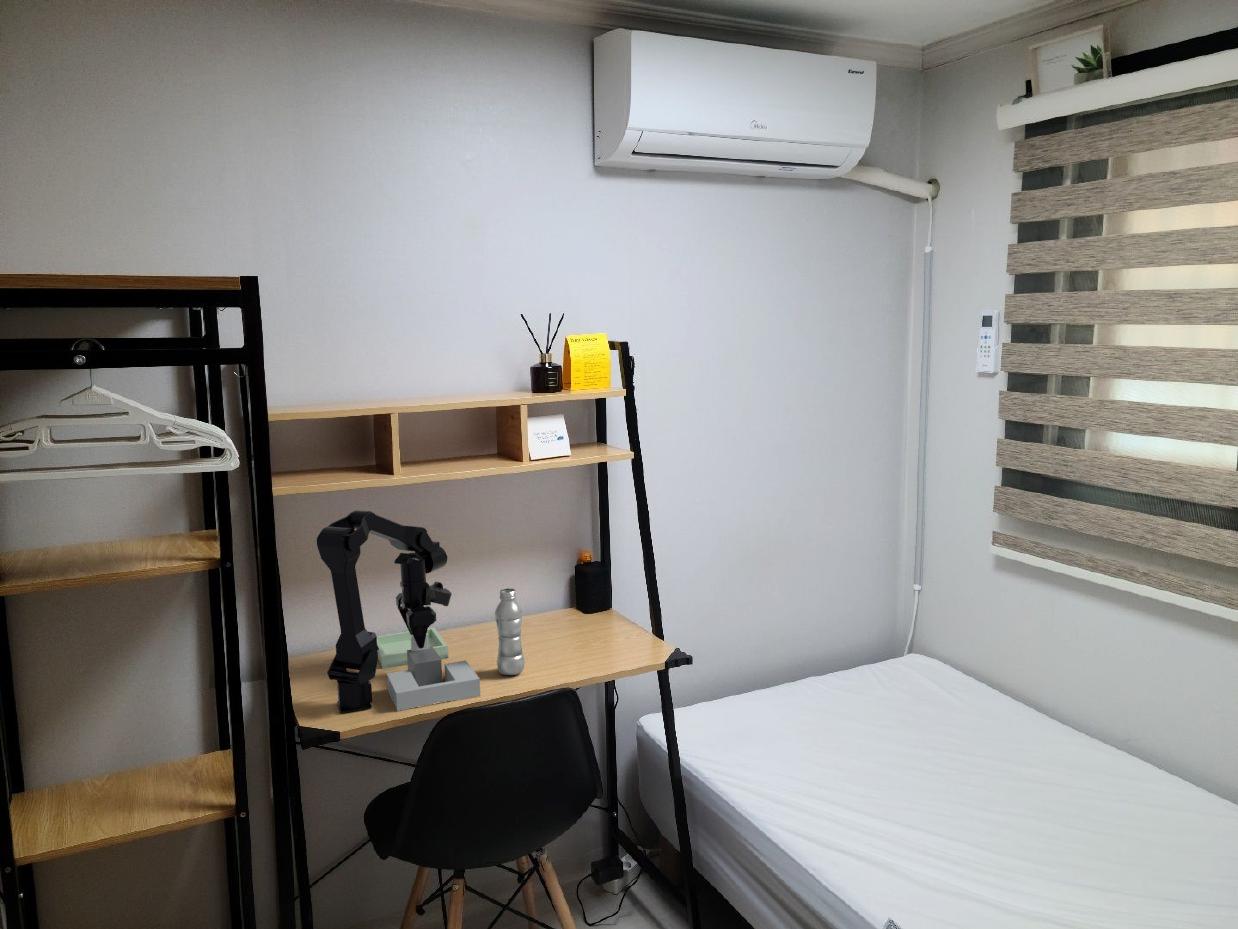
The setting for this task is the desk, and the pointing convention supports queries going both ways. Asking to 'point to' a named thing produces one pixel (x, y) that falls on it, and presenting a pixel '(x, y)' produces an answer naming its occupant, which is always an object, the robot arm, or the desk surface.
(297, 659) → the desk surface
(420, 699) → the bay housing
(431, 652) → the grey block with handle
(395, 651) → the tray
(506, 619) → the plastic bottle
